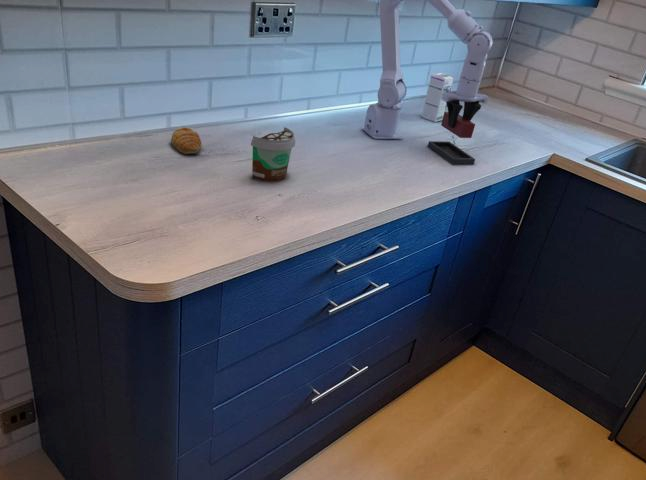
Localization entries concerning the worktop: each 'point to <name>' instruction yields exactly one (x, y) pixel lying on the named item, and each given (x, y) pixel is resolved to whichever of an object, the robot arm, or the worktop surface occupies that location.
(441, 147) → the cradle
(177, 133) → the pastry
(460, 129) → the dark red block
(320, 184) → the worktop surface
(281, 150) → the food container
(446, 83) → the syrup box
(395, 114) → the robot arm
